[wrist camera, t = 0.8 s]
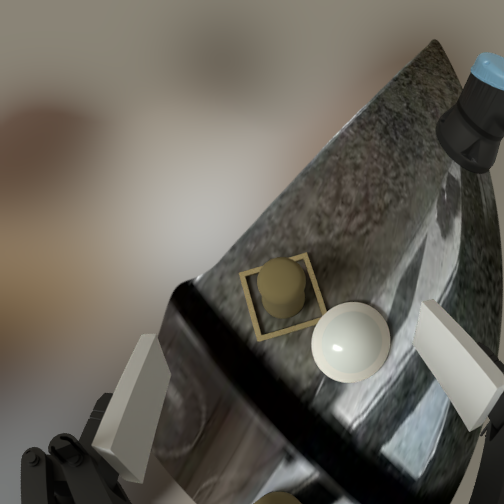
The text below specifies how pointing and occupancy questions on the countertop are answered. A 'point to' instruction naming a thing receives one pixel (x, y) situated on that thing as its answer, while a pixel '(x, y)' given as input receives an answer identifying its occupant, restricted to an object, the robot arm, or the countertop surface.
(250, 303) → the square frame
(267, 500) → the squeeze bottle
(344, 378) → the saucer
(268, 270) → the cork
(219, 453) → the countertop surface
